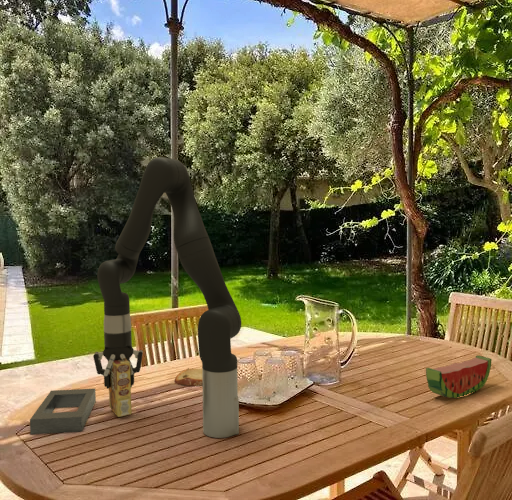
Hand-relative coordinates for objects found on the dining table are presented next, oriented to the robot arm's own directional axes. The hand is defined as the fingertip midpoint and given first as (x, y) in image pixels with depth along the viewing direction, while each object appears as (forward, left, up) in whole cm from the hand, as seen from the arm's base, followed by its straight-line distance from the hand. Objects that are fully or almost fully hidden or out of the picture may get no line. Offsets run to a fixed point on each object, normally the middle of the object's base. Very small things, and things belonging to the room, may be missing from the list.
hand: (119, 387), depth 150 cm
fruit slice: (-104, -1, -8) cm, 105 cm away
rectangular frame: (+15, 0, -8) cm, 17 cm away
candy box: (0, 0, -7) cm, 7 cm away
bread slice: (-26, -27, -8) cm, 38 cm away
